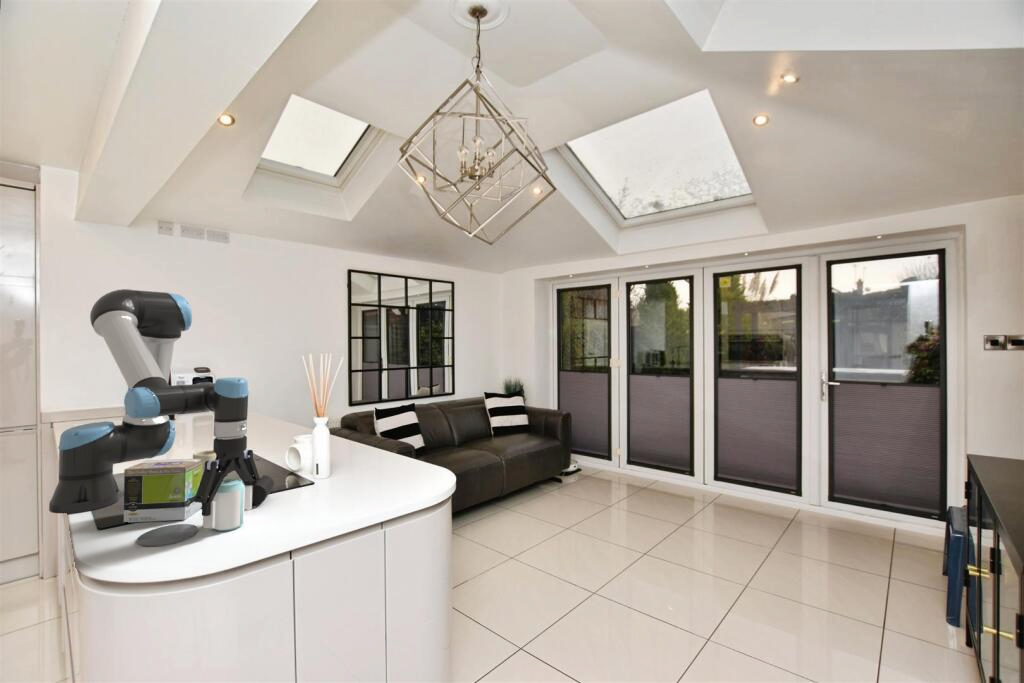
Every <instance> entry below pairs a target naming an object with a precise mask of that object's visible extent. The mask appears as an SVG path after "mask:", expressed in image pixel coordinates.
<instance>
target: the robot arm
mask: <svg viewBox="0 0 1024 683" xmlns="http://www.w3.org/2000/svg"><path fill="white" fill-rule="evenodd" d="M89 314H90V316H89V319H90V324H91V327H92V328H93V330H94V332H95V333H96V334H97V335H98V336H100V337H102V338H103V340H104V341H105V344H106V345H107V348H108V349H109V351H110V353H111V356H112V357H113V359H114V361H115V363H116V365H117V367H118V369H119V371H120V373H121V375H122V377H123V379H124V380H125V383H126V384H127V386H128V390H127V391H126V393H125V395H124V399H123V404H124V410H125V413H126V414H125V415H124V416H123V417H122V420H121V422H122V423H121V424H118V425H115V423H114V422H112V421H99V422H90V423H89V422H88V423H84V424H81V425H80V424H79V425H77V426H72V427H70V428H67V429H65V430H64V431H62V432H61V434H60V437H59V445H58V450H59V451H58V452H59V453H58V454H59V455H58V482H57V485H56V487H55V489H54V492H53V494H52V497H51V499H50V501H49V503H48V506H49V507H48V510H49V512H50V513H53V514H75V513H82V512H88V511H94V510H97V509H102V508H104V507H108V506H111V505H114V504H115V503H117V502H119V501H120V500H121V498H120V497H121V491H120V489H119V487H118V486H119V485H118V484H117V481H116V479H115V477H114V476H115V475H114V465H116V464H122V463H123V464H124V463H129V462H134V461H140V460H145V459H153V458H155V457H160V456H163V455H165V454H167V453H169V451H170V450H171V449H172V447H173V445H174V443H175V439H176V431H175V430H176V425H175V423H174V422H173V421H172V420H171V419H170V416H173V415H174V416H175V415H183V414H193V413H202V412H213V417H214V418H213V436H214V437H215V438H214V439H213V448H212V449H213V451H214V452H215V453H216V459H215V460H214V461H206V462H205V467H204V473H203V476H202V479H201V481H200V484H199V487H198V490H197V493H196V496H195V499H194V501H195V502H200V503H202V507H201V516H202V528H205V529H214V527H215V501H213V499H214V497H215V495H216V493H217V491H218V489H219V487H220V485H221V483H222V481H223V480H225V478H226V477H227V476H228V474H230V473H232V472H235V473H236V474H237V476H238V477H239V479H241V480H242V483H243V484H246V485H245V500H244V511H251V510H252V509H253V507H252V495H253V485H256V484H257V481H258V480H259V478H260V475H259V472H258V469H257V466H256V462H255V459H254V450H253V449H247V447H248V445H247V444H248V437H247V435H246V434H247V432H248V410H249V406H248V405H249V394H250V393H249V392H250V391H249V386H248V385H249V384H248V383H249V382H248V379H247V378H244V377H220V378H217V379H216V380H215V382H214V383H213V382H210V381H208V382H198V383H194V384H178V385H176V384H175V385H170V384H169V382H170V381H169V380H170V376H171V375H170V374H171V366H172V360H173V352H174V345H175V342H176V341H178V340H180V339H181V337H182V332H186V331H188V330H189V329H190V328H191V326H192V322H193V312H192V308H191V305H190V303H189V302H188V300H187V299H186V297H184V296H182V295H181V294H177V293H176V294H175V293H170V292H160V291H149V290H139V289H138V290H137V289H135V290H133V289H129V288H126V289H125V288H123V289H116V290H113V291H110V292H108V293H105V294H104V295H102V296H100V297H99V298H98V299H97V300H96V301H95V302H94V304H93V306H92V308H91V311H90V313H89Z"/></svg>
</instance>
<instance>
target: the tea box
mask: <svg viewBox="0 0 1024 683" xmlns="http://www.w3.org/2000/svg"><path fill="white" fill-rule="evenodd" d="M123 477H124V479H123V523H124V522H128V523H144V522H145V523H146V522H163V521H184V520H186V519H188V518H189V517H191V516H192V515H194V514H195V513H197V512H198V511H199V510H202V503H200V502H195V501H194V499H195V496H196V493H197V490H198V487H199V484H200V481H201V479H202V459H193V458H186V459H185V458H183V459H182V458H180V459H175V458H174V459H151V460H145V461H142V462H140V463H137V464H134V465H133V466H129V467H127V468H125V469H124V474H123Z"/></svg>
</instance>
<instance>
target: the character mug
mask: <svg viewBox="0 0 1024 683" xmlns="http://www.w3.org/2000/svg"><path fill="white" fill-rule="evenodd" d="M192 459H202V476H203V473H204V467H205V462H206V461H214V460H215V459H216V453H215V452H214V451H213V450H212V449H208V450H201V451H197V452H194V453H193V454H192Z"/></svg>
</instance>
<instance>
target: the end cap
mask: <svg viewBox="0 0 1024 683" xmlns="http://www.w3.org/2000/svg"><path fill="white" fill-rule="evenodd" d="M243 484H244V483H243ZM244 485H246V484H244ZM274 487H275V483H274V480H273V478H272V477H271V476H269V475H262V476H261V477H259V480H258V481H257V484H256V485H253V495H252V508H256V507H258V506H260V505H261V504H262V503H263V502H264V501H265V500H266V499H267V498H268V496H269V494H271V491H272V490H273V489H274Z"/></svg>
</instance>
